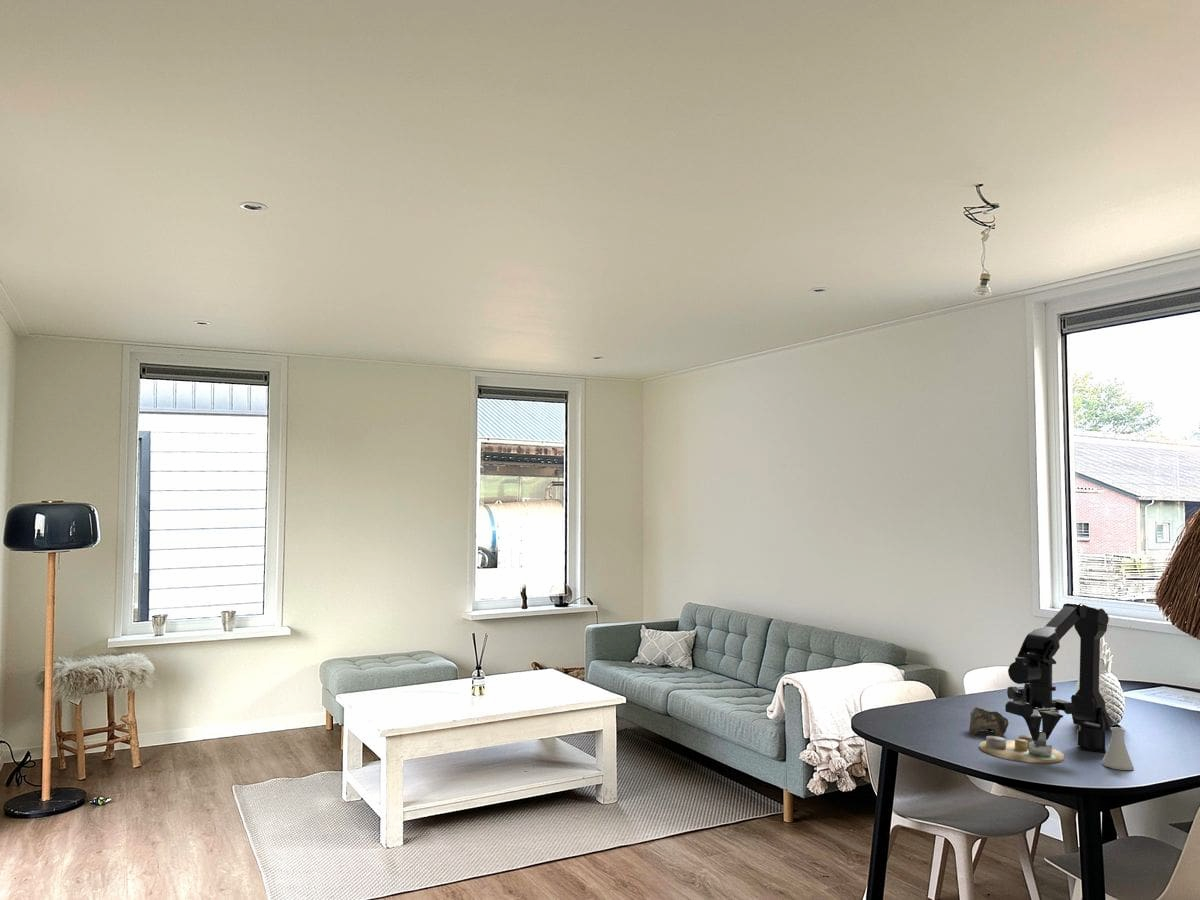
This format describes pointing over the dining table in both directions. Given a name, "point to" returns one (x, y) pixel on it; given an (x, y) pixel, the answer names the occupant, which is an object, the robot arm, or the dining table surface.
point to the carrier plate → (1017, 750)
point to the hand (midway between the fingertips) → (1039, 740)
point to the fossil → (987, 722)
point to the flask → (1117, 752)
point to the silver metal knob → (1040, 746)
